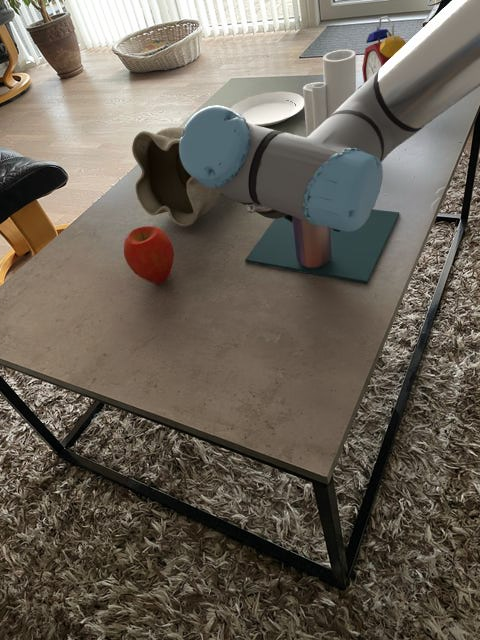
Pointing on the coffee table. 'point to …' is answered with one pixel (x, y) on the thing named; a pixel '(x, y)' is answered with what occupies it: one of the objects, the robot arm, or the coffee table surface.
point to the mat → (347, 247)
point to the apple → (149, 254)
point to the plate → (269, 107)
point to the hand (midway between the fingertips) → (320, 220)
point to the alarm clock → (380, 50)
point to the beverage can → (311, 243)
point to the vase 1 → (169, 178)
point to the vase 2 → (330, 88)
